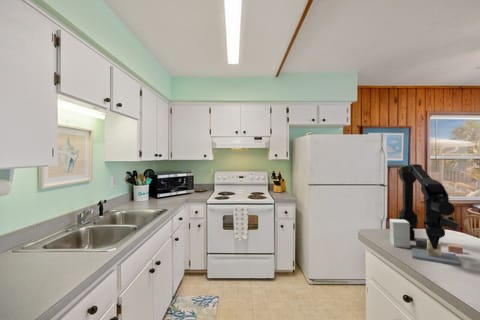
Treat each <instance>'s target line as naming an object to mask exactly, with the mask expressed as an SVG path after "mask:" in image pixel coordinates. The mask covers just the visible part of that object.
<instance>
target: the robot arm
mask: <svg viewBox="0 0 480 320" xmlns="http://www.w3.org/2000/svg"><path fill="white" fill-rule="evenodd" d="M397 174H398V178H399V179H400V181H401V183H402V209H401V210H400V211H399V214H398V216H397V219H403V220H406V221H407V222H409V224H410V241H415V240H416V235H415V234H416V233H415V231H416V230H415V229H417V228H418V224H419V219H418V214H417V213H416V212H415V211H414V183H415V182H416V181H417V182H418V183H419V184H420V191H421V194H423V198H422V199H423V200H424V215H425V216H424V217H425V218H424V219H423V227H424V229H425V233H426V236H427V238H428V240H429V241H430V243H431V245H432V247H433V249H437V246H438V242H439V241H440V239H441V238H443V237H445V236H446V230H445V229H444V227H446V228H449V229H452V230H453V231H457V230H458V227H459V226H460V223H459V222H458V221H456V220H454V217H452V215H453V214H454V212H455V210H456V209H455V208H456V207H455V206H454V204H453V203H452V202H450V201H449V200H450V197H449V194H448V192H447V190H446V189H445V186H444V185H443V184H442V183H441V182H440V181H438V180H437V179H433V178H432V177H431V176H430V175H429V174H428V173H427V172H426V171H425V170H424V168H423V166H422V164H419V163H417V164H413V163H412V164H411V163H410V164H408V165H405V166H401V167H400V168H398V171H397ZM414 239H415V240H414Z"/></svg>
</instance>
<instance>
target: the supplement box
mask: <svg viewBox="0 0 480 320" xmlns="http://www.w3.org/2000/svg"><path fill="white" fill-rule="evenodd" d="M389 242H390V244H391V245H392V247H394V248H404V249H405V248H408V249H410V248H411V240H410V224H409V222H407V221H406V220H403V219H398V218H389Z"/></svg>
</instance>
